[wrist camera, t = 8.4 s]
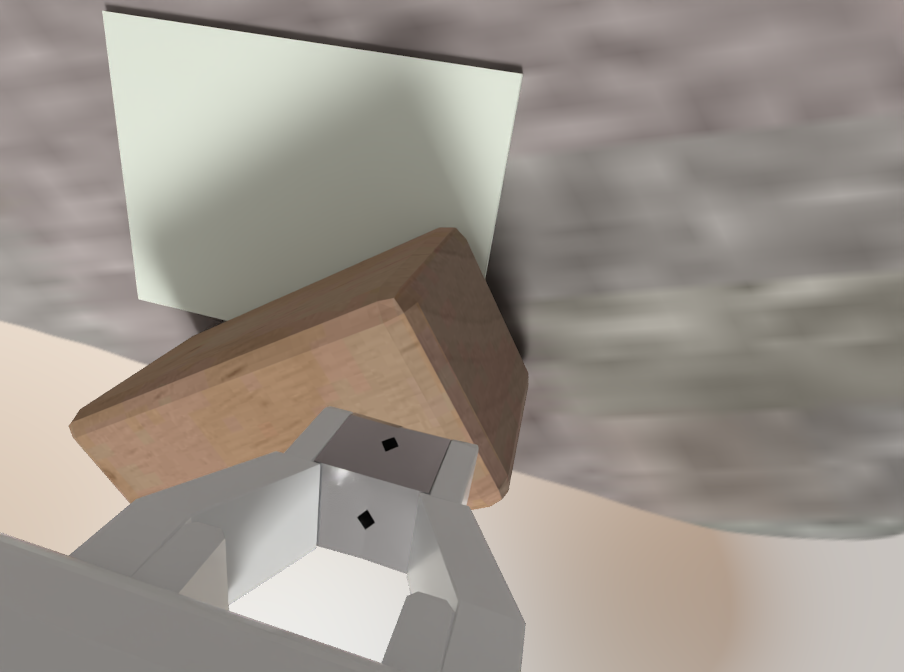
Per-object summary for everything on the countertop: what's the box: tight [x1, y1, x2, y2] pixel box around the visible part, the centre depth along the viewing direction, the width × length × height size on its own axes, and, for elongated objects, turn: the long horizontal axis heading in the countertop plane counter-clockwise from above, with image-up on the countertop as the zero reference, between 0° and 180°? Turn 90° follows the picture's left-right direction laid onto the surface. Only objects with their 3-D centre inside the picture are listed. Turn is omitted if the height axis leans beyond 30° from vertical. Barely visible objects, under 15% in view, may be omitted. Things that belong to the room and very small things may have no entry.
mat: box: [102, 11, 523, 321], centre depth 27 cm, size 22×16×1 cm
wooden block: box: [69, 227, 528, 510], centre depth 26 cm, size 10×10×20 cm
